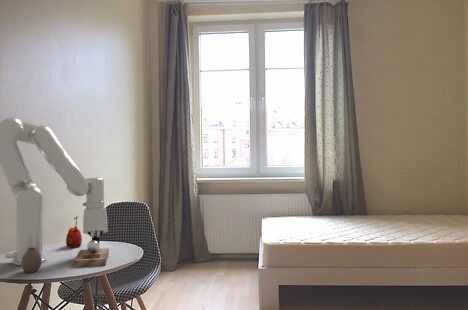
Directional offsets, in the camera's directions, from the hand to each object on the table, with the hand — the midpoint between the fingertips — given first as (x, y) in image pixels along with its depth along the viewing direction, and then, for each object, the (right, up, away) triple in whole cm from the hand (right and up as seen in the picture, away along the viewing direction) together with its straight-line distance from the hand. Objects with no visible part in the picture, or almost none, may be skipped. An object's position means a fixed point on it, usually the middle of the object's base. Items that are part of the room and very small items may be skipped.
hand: (95, 245), depth 180 cm
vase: (-16, -4, -26) cm, 31 cm away
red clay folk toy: (-15, -3, +13) cm, 20 cm away
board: (+2, -4, -11) cm, 12 cm away
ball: (+1, +1, -7) cm, 8 cm away
